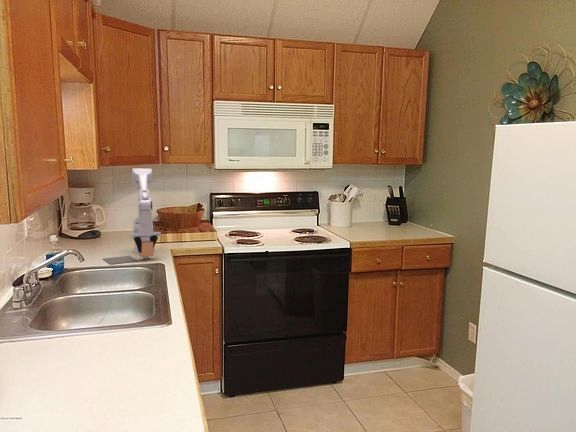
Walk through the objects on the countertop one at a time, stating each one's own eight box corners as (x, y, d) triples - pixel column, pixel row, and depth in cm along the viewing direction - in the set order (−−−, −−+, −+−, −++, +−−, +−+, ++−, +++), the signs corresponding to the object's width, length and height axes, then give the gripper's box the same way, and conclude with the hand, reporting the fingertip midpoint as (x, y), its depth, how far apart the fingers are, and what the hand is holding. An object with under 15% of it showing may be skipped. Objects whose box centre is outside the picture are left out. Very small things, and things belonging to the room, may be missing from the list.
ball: (141, 259, 222) (141, 252, 222) (148, 258, 224) (147, 252, 224) (143, 260, 220) (143, 254, 219) (150, 259, 222) (150, 253, 221)
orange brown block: (138, 255, 222) (138, 241, 221) (149, 254, 226) (149, 240, 225) (142, 257, 218) (142, 243, 217) (153, 256, 221) (153, 242, 220)
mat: (102, 259, 220) (102, 258, 220) (129, 256, 228) (129, 255, 228) (110, 264, 210) (110, 263, 209) (138, 261, 217) (138, 260, 217)
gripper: (133, 226, 212) (133, 254, 214) (163, 224, 221) (163, 251, 223) (128, 224, 218) (128, 252, 220) (157, 222, 226) (158, 249, 228)
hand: (145, 251), depth 222 cm, fingers closed on orange brown block, 5 cm apart
